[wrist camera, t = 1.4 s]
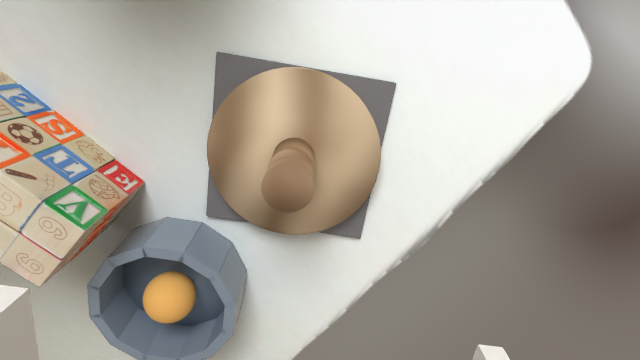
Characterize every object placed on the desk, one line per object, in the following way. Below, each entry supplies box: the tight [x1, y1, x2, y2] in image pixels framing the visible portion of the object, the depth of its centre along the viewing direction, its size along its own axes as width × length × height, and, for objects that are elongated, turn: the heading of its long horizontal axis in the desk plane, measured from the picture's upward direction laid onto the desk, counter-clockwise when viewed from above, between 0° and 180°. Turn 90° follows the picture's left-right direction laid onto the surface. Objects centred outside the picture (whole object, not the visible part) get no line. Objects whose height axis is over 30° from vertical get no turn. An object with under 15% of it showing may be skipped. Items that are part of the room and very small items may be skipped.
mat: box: [206, 52, 396, 238], centre depth 31 cm, size 14×14×1 cm
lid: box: [207, 67, 381, 234], centre depth 28 cm, size 14×14×8 cm
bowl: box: [87, 217, 247, 360], centre depth 34 cm, size 12×12×5 cm
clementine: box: [143, 271, 196, 323], centre depth 33 cm, size 4×4×4 cm
